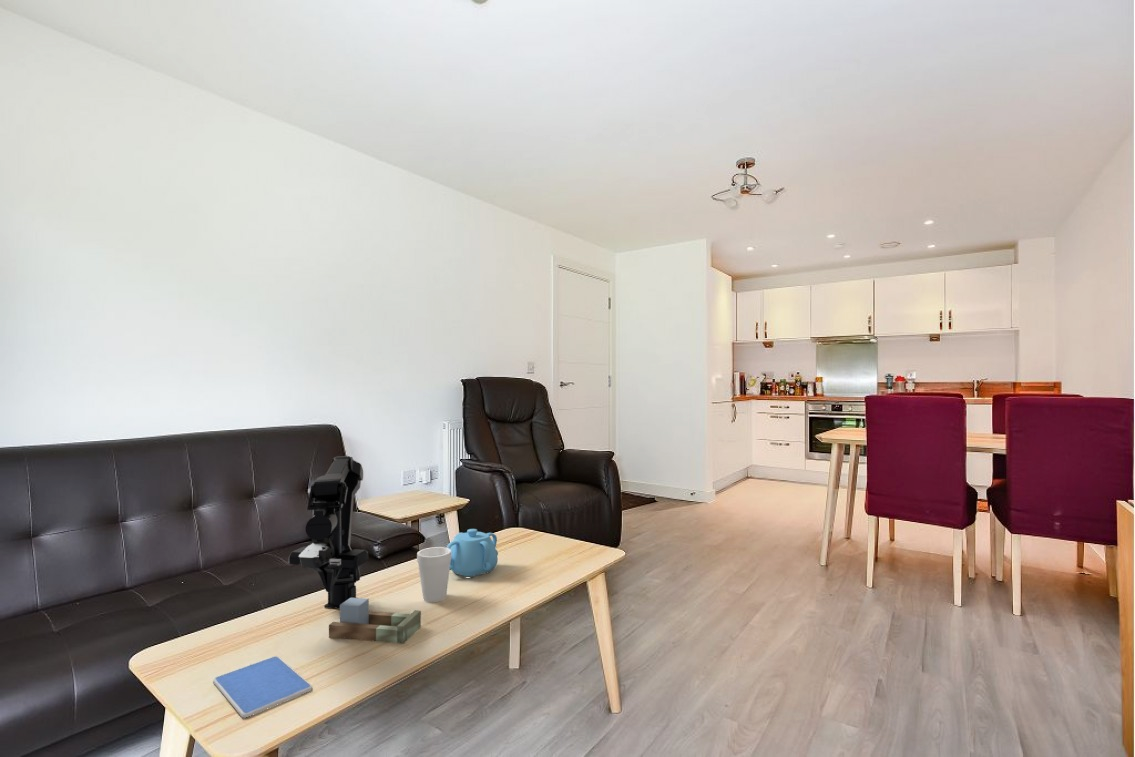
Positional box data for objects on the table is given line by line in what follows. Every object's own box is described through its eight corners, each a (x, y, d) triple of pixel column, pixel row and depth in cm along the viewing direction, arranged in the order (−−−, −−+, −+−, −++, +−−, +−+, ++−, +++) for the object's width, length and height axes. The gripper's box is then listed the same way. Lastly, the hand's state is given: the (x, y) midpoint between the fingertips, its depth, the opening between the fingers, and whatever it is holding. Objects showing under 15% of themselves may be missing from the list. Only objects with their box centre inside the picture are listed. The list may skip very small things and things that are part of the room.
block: (339, 633, 128) (339, 604, 128) (350, 625, 132) (350, 597, 132) (358, 635, 127) (358, 606, 127) (368, 626, 131) (368, 598, 132)
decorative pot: (438, 579, 164) (438, 536, 164) (457, 562, 180) (457, 522, 180) (488, 582, 161) (488, 538, 161) (503, 564, 177) (503, 524, 177)
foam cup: (415, 594, 152) (415, 549, 152) (447, 589, 155) (447, 545, 156) (420, 607, 143) (419, 559, 143) (454, 601, 147) (453, 554, 147)
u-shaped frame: (328, 637, 126) (328, 620, 126) (350, 621, 135) (350, 605, 135) (403, 643, 123) (403, 626, 123) (420, 626, 131) (420, 610, 131)
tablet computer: (211, 683, 108) (211, 677, 108) (277, 659, 117) (277, 653, 117) (243, 722, 95) (243, 715, 95) (314, 692, 104) (314, 685, 104)
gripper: (272, 536, 125) (272, 602, 125) (342, 539, 122) (343, 607, 122) (303, 524, 136) (304, 584, 136) (369, 526, 133) (369, 588, 133)
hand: (329, 591), depth 131 cm, fingers closed
